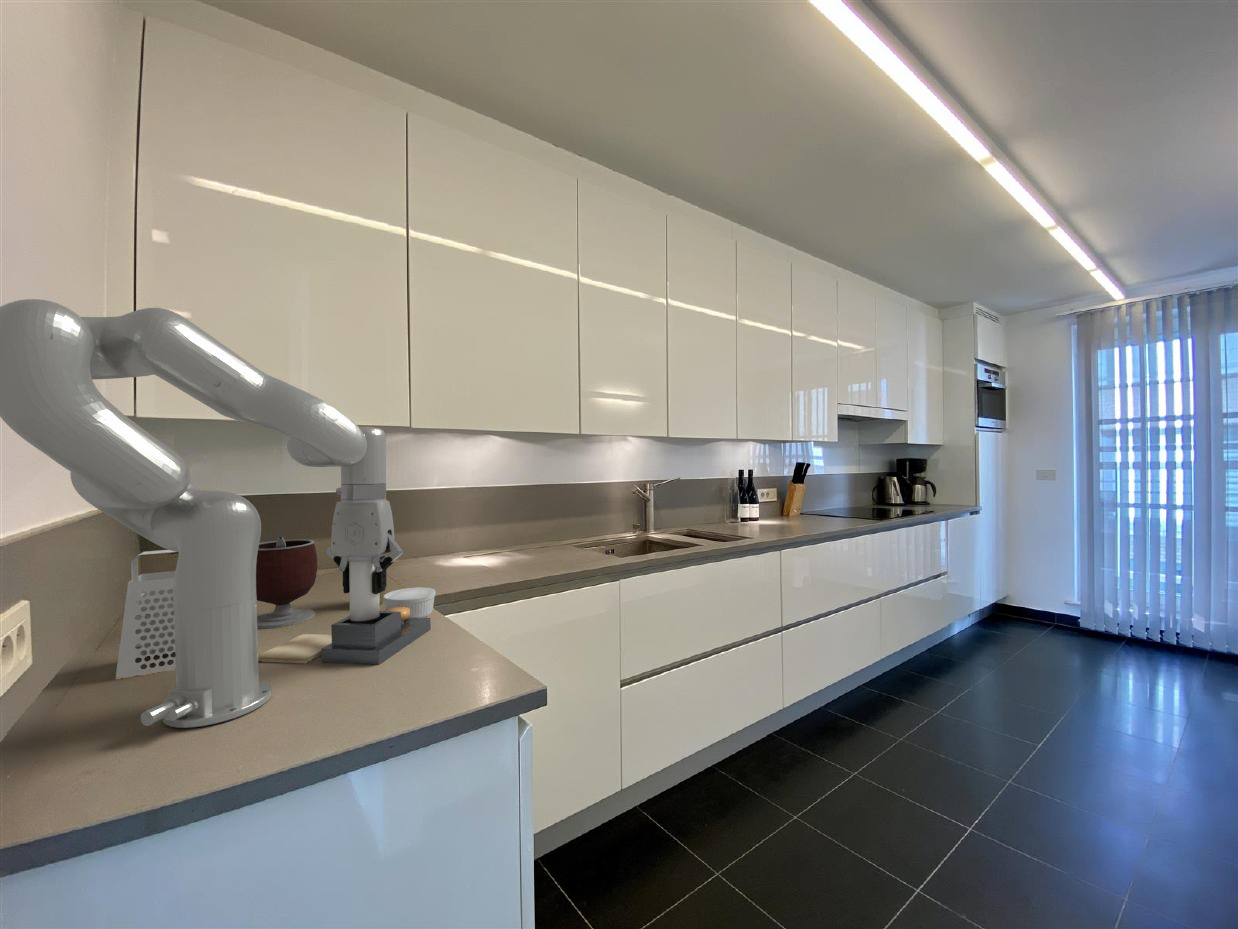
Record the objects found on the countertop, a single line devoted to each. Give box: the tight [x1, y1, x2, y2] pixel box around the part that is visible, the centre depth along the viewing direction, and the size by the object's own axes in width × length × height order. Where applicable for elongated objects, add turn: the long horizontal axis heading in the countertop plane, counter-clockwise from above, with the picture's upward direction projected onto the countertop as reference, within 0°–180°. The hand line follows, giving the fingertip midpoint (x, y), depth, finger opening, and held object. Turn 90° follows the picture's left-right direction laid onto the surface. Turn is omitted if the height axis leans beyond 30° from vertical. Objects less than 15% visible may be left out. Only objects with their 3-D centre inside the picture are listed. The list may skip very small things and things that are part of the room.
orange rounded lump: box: [385, 607, 410, 625], centre depth 106 cm, size 5×5×4 cm
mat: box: [258, 633, 332, 664], centre depth 98 cm, size 12×10×1 cm
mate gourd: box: [256, 535, 318, 630], centre depth 116 cm, size 16×14×20 cm
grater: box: [115, 549, 177, 678], centre depth 93 cm, size 10×10×20 cm
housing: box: [320, 610, 431, 665], centre depth 100 cm, size 18×11×6 cm, turn 173°
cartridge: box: [348, 556, 381, 621], centre depth 96 cm, size 5×5×12 cm
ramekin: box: [383, 586, 437, 618], centre depth 119 cm, size 11×11×5 cm
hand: (364, 590), depth 96 cm, fingers closed on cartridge, 5 cm apart
